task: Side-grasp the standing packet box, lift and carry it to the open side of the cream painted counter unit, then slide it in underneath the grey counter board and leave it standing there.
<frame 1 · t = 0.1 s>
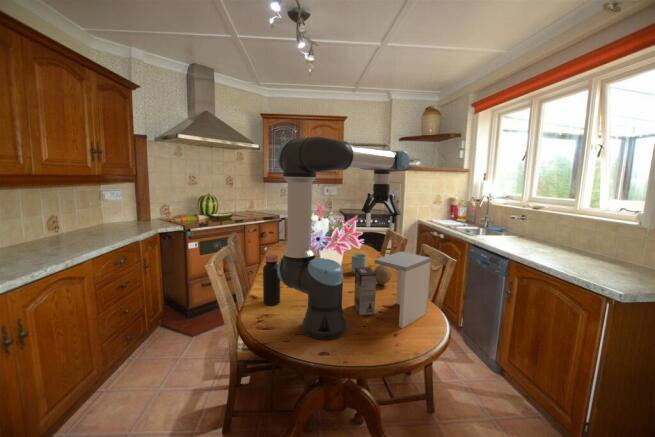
hand: (379, 228, 144), 28 cm above the table, tool pointing down, fingers open, 13 cm apart
counter: (400, 314, 116), on the table
coffee box: (364, 310, 120), on the table
bottle: (271, 303, 125), on the table
natural sponge: (382, 285, 147), on the table
cup: (358, 273, 164), on the table
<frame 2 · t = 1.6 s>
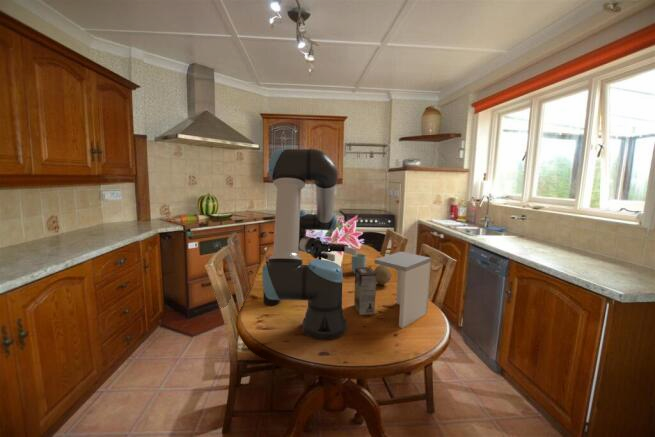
hand: (345, 255, 124), 20 cm above the table, tool horizontal, fingers open, 13 cm apart
nothing on the table moved.
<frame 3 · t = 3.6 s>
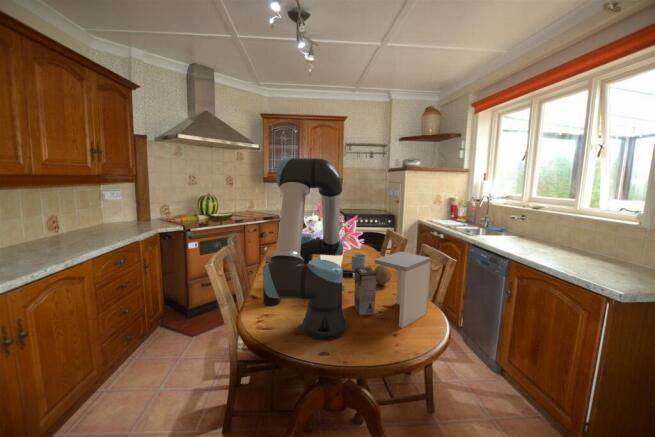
hand: (354, 283, 123), 9 cm above the table, tool horizontal, fingers open, 13 cm apart
nothing on the table moved.
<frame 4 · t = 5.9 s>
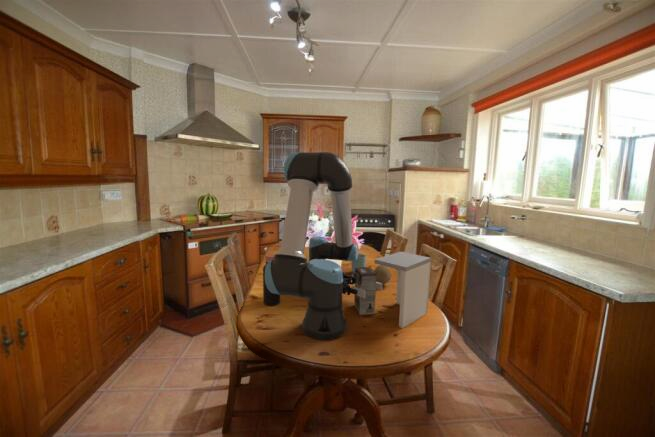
hand: (373, 290, 116), 9 cm above the table, tool horizontal, fingers closed on coffee box, 10 cm apart
coffee box: (364, 310, 120), on the table, touching gripper
everything else where it was.
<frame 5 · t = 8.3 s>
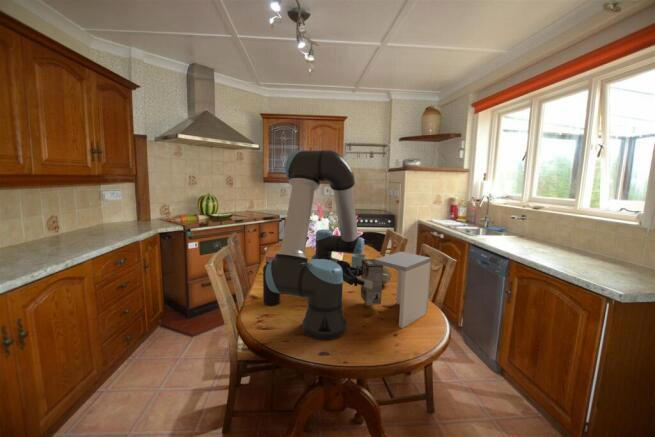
hand: (380, 281, 118), 12 cm above the table, tool horizontal, fingers closed on coffee box, 10 cm apart
coffee box: (370, 300, 123), point 2 cm above the table, touching gripper
everything else where it was.
when the fingers open (10 cm above the table, at t = 11.2 s): coffee box drops 1 cm, on the table.
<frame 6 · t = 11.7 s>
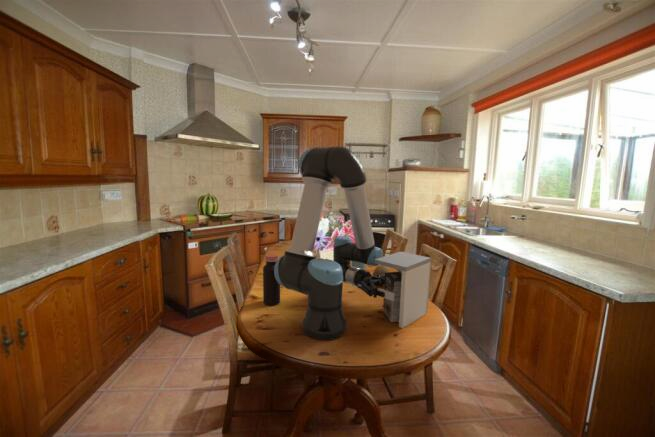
hand: (404, 292, 111), 10 cm above the table, tool horizontal, fingers open, 13 cm apart
coffee box: (394, 316, 115), on the table
everything else where it was.
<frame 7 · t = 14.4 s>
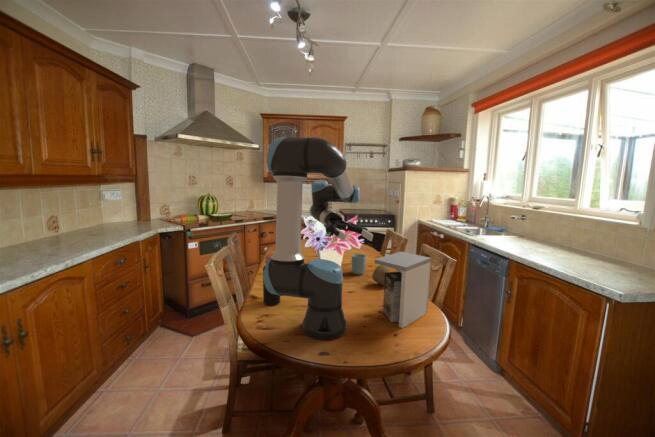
hand: (358, 237, 119), 28 cm above the table, tool horizontal, fingers open, 13 cm apart
nothing on the table moved.
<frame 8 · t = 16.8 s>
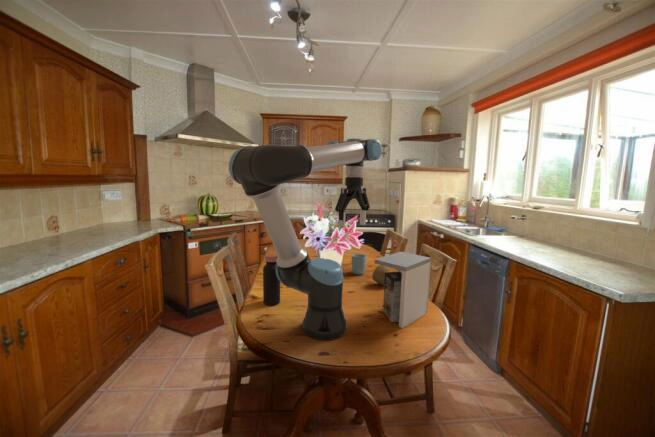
hand: (352, 226, 131), 31 cm above the table, tool pointing down, fingers open, 13 cm apart
nothing on the table moved.
at the end: coffee box inside the target area on the counter (2.2 cm from its centre), point 0.0 cm above the counter's base; coffee box tilted 0°; the gripper is holding nothing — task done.
